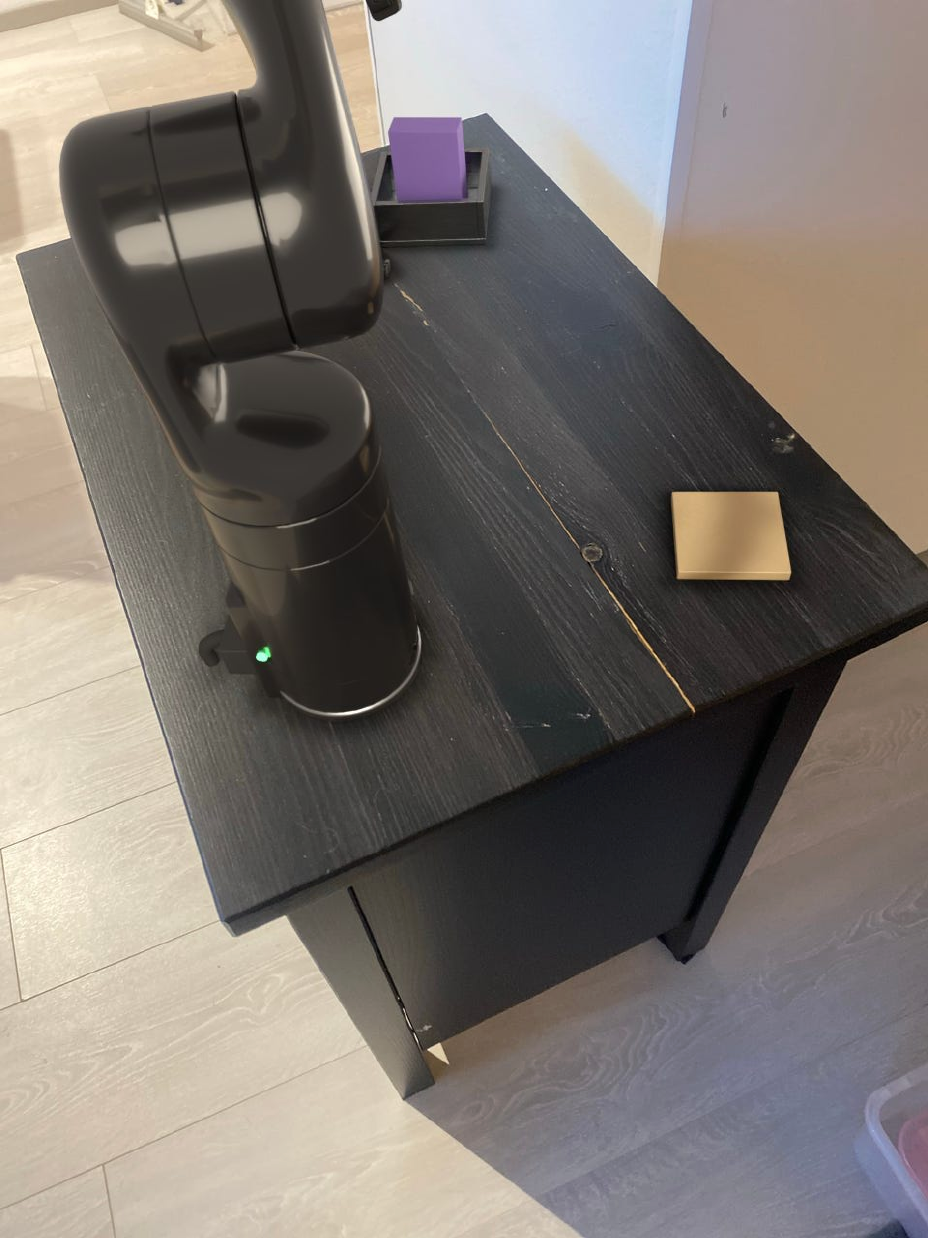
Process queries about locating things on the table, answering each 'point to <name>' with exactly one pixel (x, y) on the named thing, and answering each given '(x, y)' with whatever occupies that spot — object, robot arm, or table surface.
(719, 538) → the coaster
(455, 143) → the purple rectangular block
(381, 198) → the black tray
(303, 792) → the table surface
